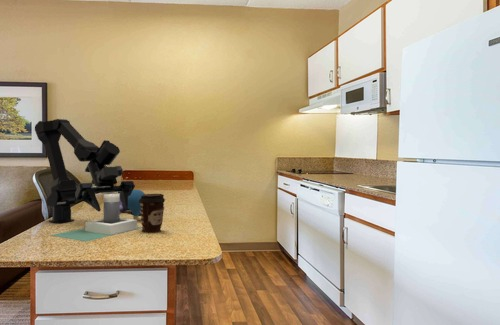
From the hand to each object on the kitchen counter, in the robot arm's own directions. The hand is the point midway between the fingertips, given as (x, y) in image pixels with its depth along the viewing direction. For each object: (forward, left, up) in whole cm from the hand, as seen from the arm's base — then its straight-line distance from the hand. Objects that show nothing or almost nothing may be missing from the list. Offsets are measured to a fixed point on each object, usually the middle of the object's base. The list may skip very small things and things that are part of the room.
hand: (113, 209), depth 131 cm
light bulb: (-10, +21, -8) cm, 25 cm away
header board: (-3, -3, -8) cm, 9 cm away
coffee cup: (+11, +6, -8) cm, 15 cm away
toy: (-23, +33, -8) cm, 42 cm away
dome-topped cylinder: (-1, 0, -7) cm, 7 cm away
